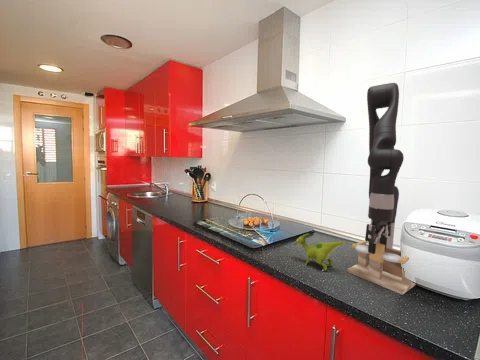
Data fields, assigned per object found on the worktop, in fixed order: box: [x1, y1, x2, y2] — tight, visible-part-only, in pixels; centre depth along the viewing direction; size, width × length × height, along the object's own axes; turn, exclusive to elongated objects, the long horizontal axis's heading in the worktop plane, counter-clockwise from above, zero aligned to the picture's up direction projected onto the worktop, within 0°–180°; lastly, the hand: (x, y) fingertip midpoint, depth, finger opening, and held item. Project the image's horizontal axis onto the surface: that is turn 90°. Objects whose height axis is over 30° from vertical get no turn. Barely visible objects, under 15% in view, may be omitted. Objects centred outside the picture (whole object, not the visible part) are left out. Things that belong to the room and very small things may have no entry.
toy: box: [293, 233, 347, 272], centre depth 99 cm, size 8×21×15 cm, turn 51°
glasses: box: [351, 240, 409, 264], centre depth 89 cm, size 11×18×6 cm, turn 37°
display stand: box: [347, 247, 417, 295], centre depth 90 cm, size 12×19×10 cm, turn 37°
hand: (377, 250), depth 87 cm, fingers open, 8 cm apart
